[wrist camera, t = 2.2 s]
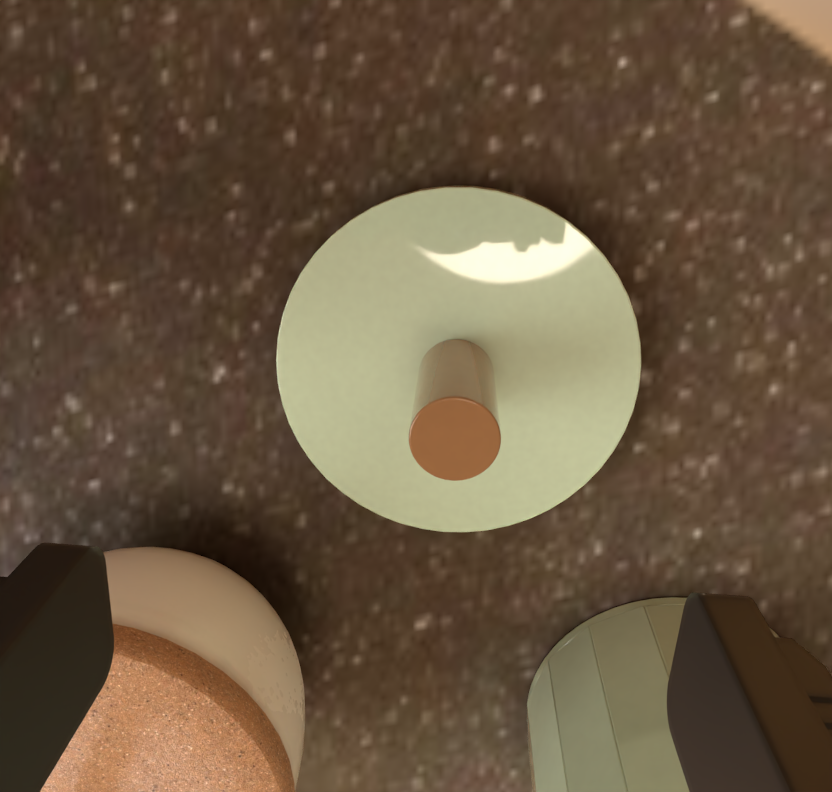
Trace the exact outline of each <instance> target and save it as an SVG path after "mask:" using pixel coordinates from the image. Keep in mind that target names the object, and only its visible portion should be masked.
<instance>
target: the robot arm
mask: <svg viewBox="0 0 832 792" xmlns="http://www.w3.org/2000/svg"><path fill="white" fill-rule="evenodd" d="M113 652H114V633H113V624H112V614H111V605H110V596H109V587H108V577H107V568H106V560H105V556H104V553H103V551H102V550H101V549H100V548H99V547H95V546H82V545H68V544H55V543H41V544H40V545H38V546H37V547H36V548H35V549H34V550H33V551H32V552H31V553H30V554H29V555H28V556H27V557H26V558H25V559H24V560H23V561H22V562H21V564H20V565H19V566H18V567H17V568H16V569H15V570H14V571H13V572H12V573H11V574H10V575H9V576H8V577H0V792H40V791H41V789H42V787H43V786H44V784H45V782H46V781H47V779H48V777H49V776H50V774H51V772H52V771H53V769H54V767H55V766H56V764H57V762H58V761H59V759H60V757H61V756H62V754H63V752H64V751H65V749H66V747H67V746H68V744H69V742H70V741H71V739H72V737H73V736H74V734H75V732H76V731H77V729H78V727H79V726H80V724H81V723H82V721H83V719H84V718H85V716H86V714H87V713H88V711H89V709H90V708H91V706H92V704H93V703H94V701H95V699H96V698H97V696H98V694H99V693H100V691H101V689H102V688H103V686H104V684H105V682H106V679H107V677H108V674H109V671H110V668H111V664H112V659H113ZM667 716H668V723H669V729H670V733H671V736H672V739H673V742H674V745H675V749H676V752H677V755H678V758H679V761H680V764H681V767H682V770H683V773H684V776H685V779H686V783H687V786H688V789H689V792H832V676H831V675H830V673H829V672H828V670H827V669H826V667H825V666H824V665H823V664H821V663H820V662H819V661H818V660H817V659H816V658H814V657H813V656H812V655H811V654H810V653H809V652H807V651H806V650H805V649H804V648H803V647H802V646H800V645H799V644H798V643H797V642H796V641H795V640H793V639H792V638H779V637H774V635H773V633H772V632H771V630H770V628H769V626H768V625H767V623H766V621H765V619H764V618H763V616H762V614H761V612H760V611H759V609H758V607H757V605H756V604H755V602H754V601H753V600H752V599H751V598H750V597H746V596H733V595H719V594H706V593H691V594H690V595H689V596H688V597H687V599H686V602H685V605H684V609H683V614H682V619H681V623H680V628H679V633H678V638H677V643H676V647H675V652H674V657H673V662H672V667H671V671H670V676H669V681H668V687H667Z"/></svg>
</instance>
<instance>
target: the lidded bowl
mask: <svg viewBox="0 0 832 792" xmlns="http://www.w3.org/2000/svg"><path fill="white" fill-rule="evenodd" d="M103 553H104V556H105V560H106V568H107V577H108V587H109V596H110V605H111V614H112V624H113V633H114V652H113V659H112V664H111V668H110V671H109V674H108V677H107V679H106V682H105V684H104V686H103V688H102V689H101V691H100V693H99V694H98V696H97V698H96V699H95V701H94V703H93V704H92V706H91V708H90V709H89V711H88V713H87V714H86V716H85V718H84V719H83V721H82V723H81V724H80V726H79V727H78V729H77V731H76V732H75V734H74V736H73V737H72V739H71V741H70V742H69V744H68V746H67V747H66V749H65V751H64V752H63V754H62V756H61V757H60V759H59V761H58V762H57V764H56V766H55V767H54V769H53V771H52V772H51V774H50V776H49V777H48V779H47V781H46V782H45V784H44V786H43V787H42V789H41V791H40V792H295V788H296V784H297V779H298V774H299V769H300V764H301V758H302V753H303V744H304V731H305V698H304V684H303V678H302V673H301V668H300V664H299V660H298V657H297V653H296V650H295V648H294V645H293V643H292V640H291V637H290V635H289V633H288V631H287V629H286V628H285V626H284V624H283V623H282V621H281V619H280V617H279V616H278V614H277V613H276V611H275V610H274V608H273V607H272V606H271V605H270V604H269V602H268V601H267V600H266V599H265V597H264V596H263V595H262V594H261V593H260V592H259V591H258V590H257V589H256V588H254V587H253V586H252V585H251V584H250V583H249V582H248V581H247V580H245V579H244V578H242V577H241V576H239V575H238V574H236V573H235V572H234V571H232V570H231V569H229V568H227V567H226V566H224V565H222V564H220V563H218V562H216V561H214V560H212V559H209V558H206V557H203V556H200V555H197V554H194V553H191V552H186V551H182V550H177V549H172V548H162V547H136V548H122V549H116V550H111V551H106V552H103Z"/></svg>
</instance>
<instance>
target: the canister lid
mask: <svg viewBox="0 0 832 792" xmlns="http://www.w3.org/2000/svg"><path fill="white" fill-rule="evenodd" d="M276 367H277V381H278V387H279V391H280V396H281V401H282V405H283V408H284V411H285V413H286V416H287V419H288V422H289V425H290V427H291V429H292V431H293V432H294V434H295V436H296V438H297V440H298V442H299V444H300V446H301V447H302V449H303V450H304V452H305V453H306V454H307V456H308V457H309V459H310V460H311V462H312V463H313V464H314V465H315V466H316V468H317V469H318V470H319V471H320V472H321V473H322V474H323V475H324V477H325V478H326V479H327V480H328V481H330V482H331V483H332V484H333V485H334V486H335V487H336V488H338V489H339V490H340V491H341V492H342V493H343V494H345V495H346V496H348V497H349V498H351V499H352V500H354V501H355V502H356V503H358V504H359V505H361V506H363V507H365V508H367V509H369V510H370V511H372V512H374V513H376V514H378V515H380V516H383V517H385V518H388V519H390V520H393V521H395V522H398V523H401V524H405V525H409V526H413V527H416V528H420V529H427V530H434V531H441V532H474V531H486V530H491V529H496V528H501V527H506V526H510V525H513V524H516V523H519V522H522V521H525V520H528V519H530V518H533V517H535V516H537V515H539V514H541V513H543V512H546V511H548V510H550V509H551V508H553V507H555V506H556V505H558V504H559V503H561V502H563V501H564V500H566V499H567V498H569V497H570V496H571V495H573V494H574V493H575V492H576V491H578V490H579V489H580V488H581V487H583V486H584V485H585V484H586V483H587V482H588V481H589V480H590V479H591V478H592V477H593V476H594V475H595V474H596V473H597V472H598V471H599V470H600V469H601V467H602V466H603V465H604V463H605V462H606V461H607V459H608V458H609V457H610V455H611V454H612V453H613V451H614V450H615V448H616V446H617V445H618V443H619V441H620V439H621V437H622V436H623V434H624V432H625V430H626V428H627V425H628V423H629V420H630V418H631V415H632V413H633V410H634V406H635V402H636V398H637V394H638V390H639V384H640V374H641V341H640V336H639V330H638V325H637V319H636V316H635V313H634V310H633V307H632V304H631V301H630V298H629V296H628V294H627V292H626V290H625V288H624V286H623V284H622V282H621V280H620V278H619V276H618V274H617V273H616V271H615V270H614V268H613V267H612V265H611V264H610V263H609V261H608V260H607V258H606V257H605V255H604V254H603V253H602V252H601V251H600V250H599V249H598V248H597V246H596V245H595V244H594V243H593V242H592V241H591V240H590V239H589V238H588V237H587V236H586V235H585V234H584V233H583V232H582V231H581V230H579V229H578V228H577V227H576V226H574V225H573V224H572V223H571V222H569V221H568V220H567V219H566V218H564V217H562V216H561V215H559V214H557V213H556V212H554V211H552V210H551V209H549V208H547V207H546V206H544V205H542V204H539V203H537V202H535V201H532V200H530V199H528V198H525V197H523V196H520V195H517V194H513V193H509V192H506V191H502V190H499V189H493V188H485V187H478V186H440V187H432V188H425V189H419V190H416V191H412V192H408V193H405V194H401V195H397V196H395V197H392V198H390V199H388V200H385V201H383V202H381V203H378V204H376V205H374V206H372V207H370V208H369V209H367V210H365V211H364V212H362V213H360V214H359V215H357V216H355V217H353V218H352V219H351V220H349V221H348V222H347V223H346V224H344V225H343V226H342V227H341V228H339V229H338V230H337V231H336V232H334V233H333V234H332V235H331V236H330V237H329V239H328V240H327V241H326V242H325V243H324V244H323V245H322V246H321V247H320V248H319V249H318V250H317V251H316V252H315V253H314V255H313V256H312V258H311V259H310V260H309V262H308V263H307V265H306V266H305V267H304V269H303V270H302V272H301V273H300V275H299V277H298V279H297V281H296V283H295V285H294V286H293V288H292V290H291V292H290V294H289V297H288V300H287V303H286V306H285V308H284V311H283V314H282V318H281V323H280V328H279V332H278V337H277V352H276Z"/></svg>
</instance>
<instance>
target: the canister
mask: <svg viewBox="0 0 832 792" xmlns="http://www.w3.org/2000/svg"><path fill="white" fill-rule="evenodd" d="M686 599H687V598H682V597H666V598H653V599H647V600H641V601H636V602H631V603H628V604H625V605H621V606H618V607H615V608H612V609H610V610H607V611H605V612H603V613H600V614H598V615H596V616H594V617H592V618H591V619H589V620H587V621H585V622H584V623H582V624H580V625H579V626H577V627H576V628H575V629H573V630H572V631H571V632H569V633H568V634H567V635H566V636H565V637H563V638H562V639H561V640H560V641H559V642H558V643H557V644H556V645H555V646H554V647H553V649H552V650H551V651H550V652H549V654H548V655H547V656H546V657H545V659H544V660H543V662H542V664H541V665H540V667H539V669H538V670H537V672H536V674H535V677H534V679H533V682H532V684H531V687H530V691H529V696H528V700H527V723H528V748H529V758H530V768H531V778H532V789H533V792H689V789H688V786H687V783H686V779H685V776H684V773H683V770H682V767H681V764H680V761H679V758H678V755H677V752H676V749H675V745H674V742H673V739H672V736H671V733H670V729H669V723H668V716H667V687H668V681H669V676H670V671H671V667H672V662H673V657H674V652H675V647H676V643H677V638H678V633H679V628H680V623H681V619H682V614H683V609H684V605H685V602H686ZM770 630H771V632H772V633H773V635H774V637H779V636H778V635H777V634H776V633H775V632H774V631H773V630H772V629H771V628H770ZM779 638H780V637H779Z"/></svg>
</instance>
